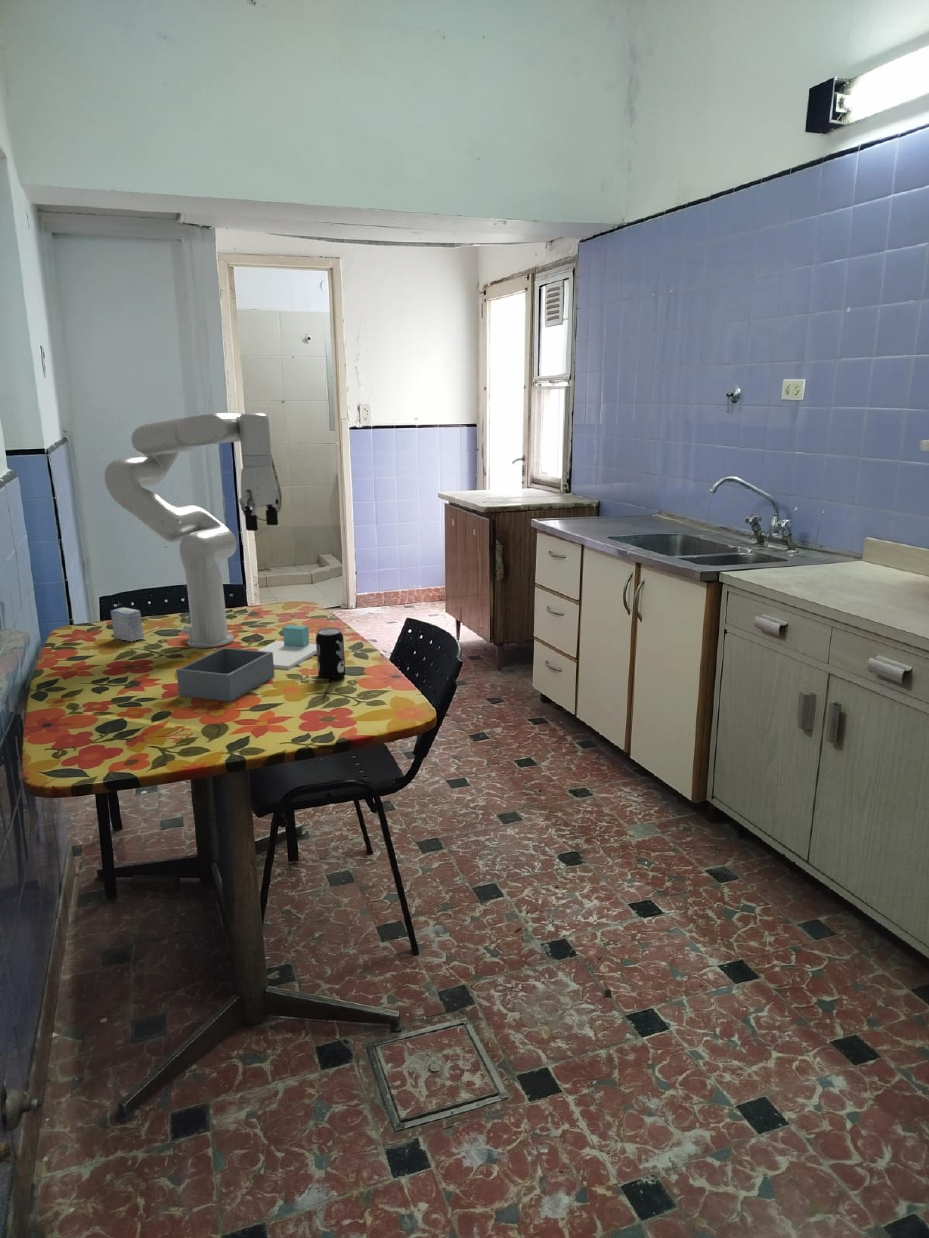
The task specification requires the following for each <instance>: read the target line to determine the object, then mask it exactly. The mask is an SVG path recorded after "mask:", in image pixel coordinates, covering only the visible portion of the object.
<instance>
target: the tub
mask: <svg viewBox="0 0 929 1238" xmlns="http://www.w3.org/2000/svg"><path fill="white" fill-rule="evenodd" d="M175 671H176V680H177V688H178V689H177V690H178V695H179V696H180V697H187V698H195V699H197V698H198V699H204V700H213V701H221V702H228V703H229V702H230V703H232V702H233V701H236V700H237V699H239V698H240V697H242V696H244V695H246V694H247V693H249V692H251V691H252V690H255V689H257V687H259V686H261V685H262V684H264V683H266V682H268V681H269V680H271V679H273V678H275V676H276V675H275V668H274V663H273V652H267V651H257V650H253V649H245V648H244V649H243V648H234V647H223V646H222V647H220V648H219V649H217V650H215V651H212V652H211V653H209V654H207V655H204V656H203V657H200V658H198V659H196V660H194V661H192V662H190V663H188V664H185V665H183V666H181V667H178V668H177V669H176V670H175Z"/></svg>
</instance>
